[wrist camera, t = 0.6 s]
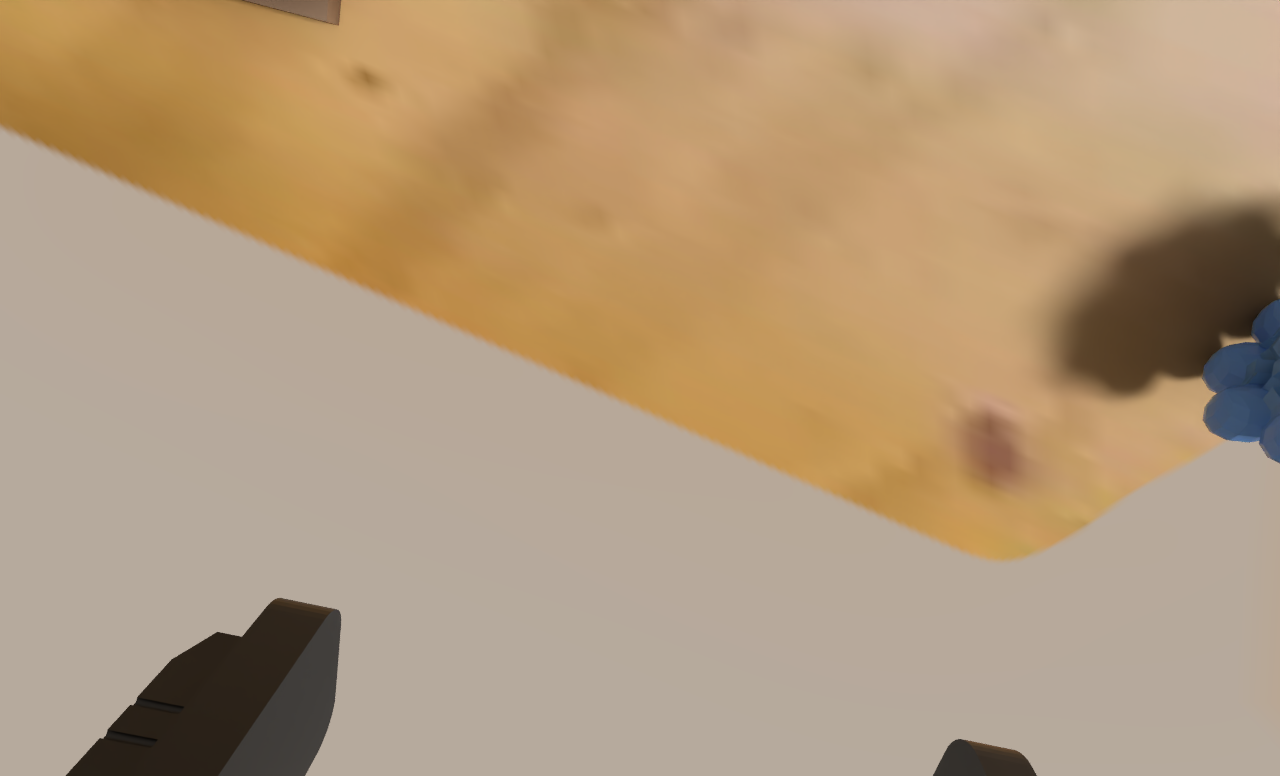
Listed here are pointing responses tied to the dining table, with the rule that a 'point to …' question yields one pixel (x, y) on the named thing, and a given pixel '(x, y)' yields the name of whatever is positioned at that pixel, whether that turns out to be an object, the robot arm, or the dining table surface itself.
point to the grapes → (1248, 386)
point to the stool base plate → (307, 8)
